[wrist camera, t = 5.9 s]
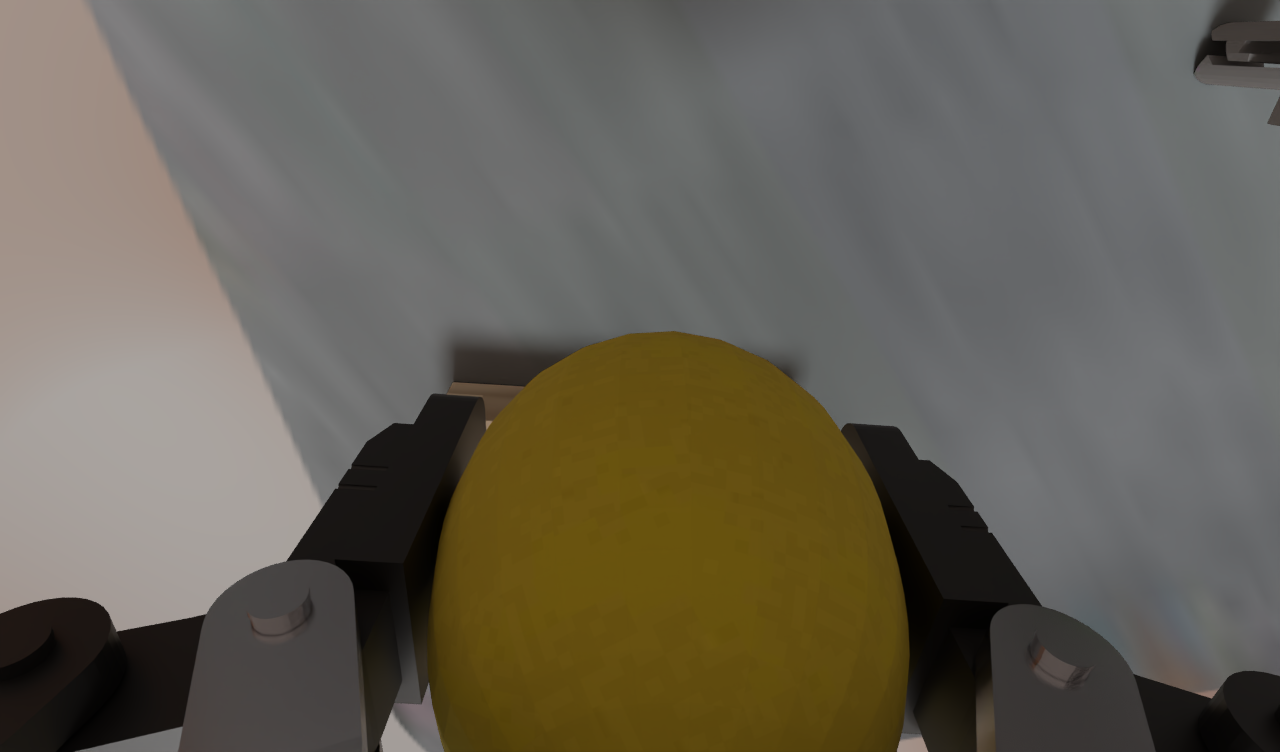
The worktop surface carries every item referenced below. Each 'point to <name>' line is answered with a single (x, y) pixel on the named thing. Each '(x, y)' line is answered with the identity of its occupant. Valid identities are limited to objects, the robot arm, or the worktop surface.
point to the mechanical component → (1245, 58)
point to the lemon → (666, 567)
